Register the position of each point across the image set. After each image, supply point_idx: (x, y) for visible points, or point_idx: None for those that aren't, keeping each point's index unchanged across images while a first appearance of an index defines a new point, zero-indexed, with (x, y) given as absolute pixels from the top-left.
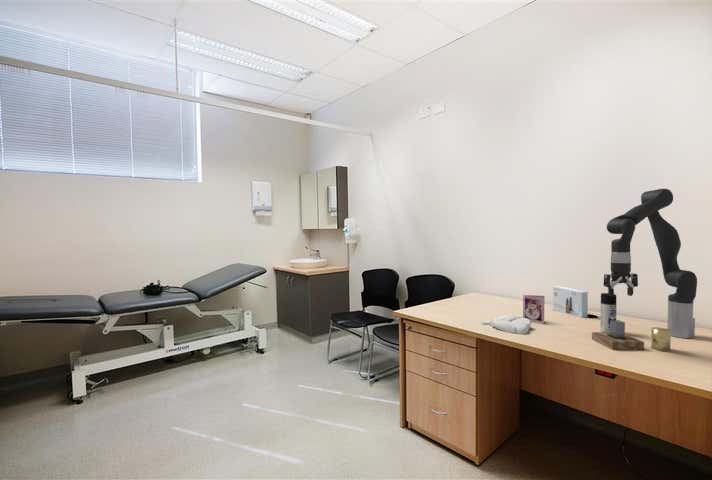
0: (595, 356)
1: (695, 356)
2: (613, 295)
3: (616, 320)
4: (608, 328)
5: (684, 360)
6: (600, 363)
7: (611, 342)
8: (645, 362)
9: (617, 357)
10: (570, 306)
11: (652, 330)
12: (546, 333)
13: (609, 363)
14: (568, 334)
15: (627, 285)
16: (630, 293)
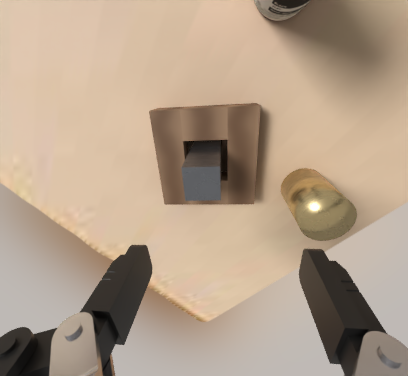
0: (113, 230)
1: None
2: (147, 277)
3: (205, 174)
4: (268, 10)
5: (283, 247)
6: (109, 257)
7: (164, 200)
8: (194, 255)
9: (155, 234)
10: None
11: (299, 211)
12: (19, 41)
13: None
14: (96, 49)
15: (353, 371)
16: (306, 294)
